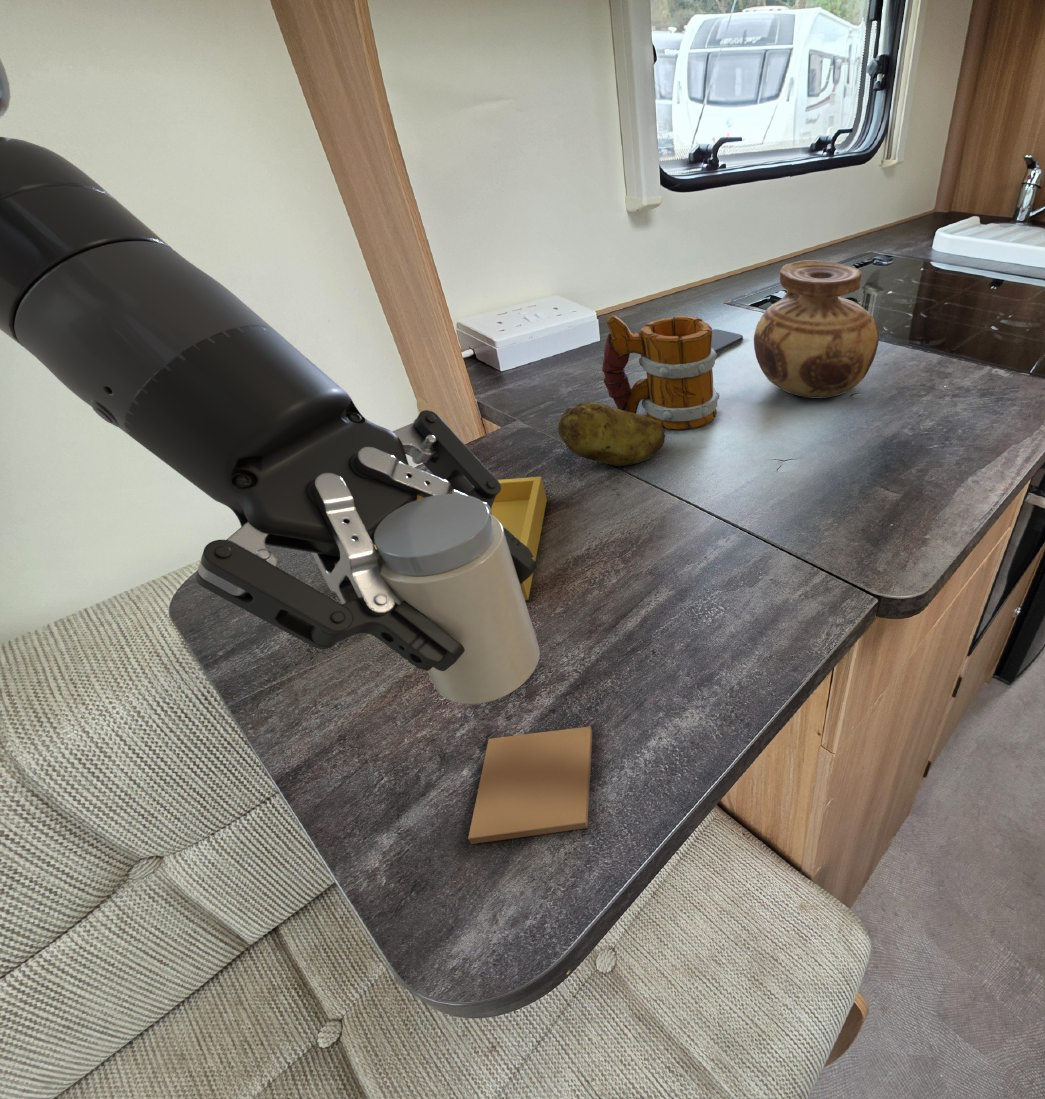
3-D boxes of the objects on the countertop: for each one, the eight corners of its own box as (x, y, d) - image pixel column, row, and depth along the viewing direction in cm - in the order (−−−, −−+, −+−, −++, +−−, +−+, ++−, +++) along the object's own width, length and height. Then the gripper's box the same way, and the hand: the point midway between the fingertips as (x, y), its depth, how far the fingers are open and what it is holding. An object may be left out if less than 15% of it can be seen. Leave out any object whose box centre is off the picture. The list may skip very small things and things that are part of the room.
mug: (726, 426, 86) (725, 320, 76) (611, 439, 83) (595, 330, 74) (713, 395, 94) (710, 296, 84) (608, 406, 91) (592, 304, 82)
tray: (528, 600, 58) (520, 574, 56) (358, 617, 56) (344, 591, 54) (547, 499, 71) (541, 476, 69) (411, 511, 70) (400, 487, 68)
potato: (664, 475, 75) (658, 417, 70) (562, 478, 75) (549, 420, 70) (667, 443, 82) (662, 388, 77) (573, 446, 82) (562, 390, 77)
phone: (745, 335, 113) (697, 359, 103) (745, 339, 113) (698, 364, 104) (714, 328, 116) (664, 350, 106) (714, 332, 117) (665, 355, 107)
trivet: (587, 828, 40) (585, 822, 40) (471, 844, 39) (467, 838, 39) (592, 732, 46) (590, 726, 46) (491, 744, 45) (488, 738, 45)
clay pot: (910, 380, 90) (886, 252, 77) (804, 441, 91) (760, 324, 77) (850, 338, 104) (820, 223, 91) (758, 390, 105) (714, 284, 91)
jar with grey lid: (514, 710, 32) (460, 568, 26) (412, 698, 33) (334, 556, 27) (555, 631, 37) (517, 493, 31) (464, 621, 38) (409, 485, 31)
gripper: (12, 394, 20) (431, 702, 24) (348, 281, 30) (593, 509, 35) (22, 503, 24) (374, 745, 29) (311, 370, 35) (533, 562, 40)
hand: (493, 614), depth 32 cm, fingers closed on jar with grey lid, 6 cm apart
